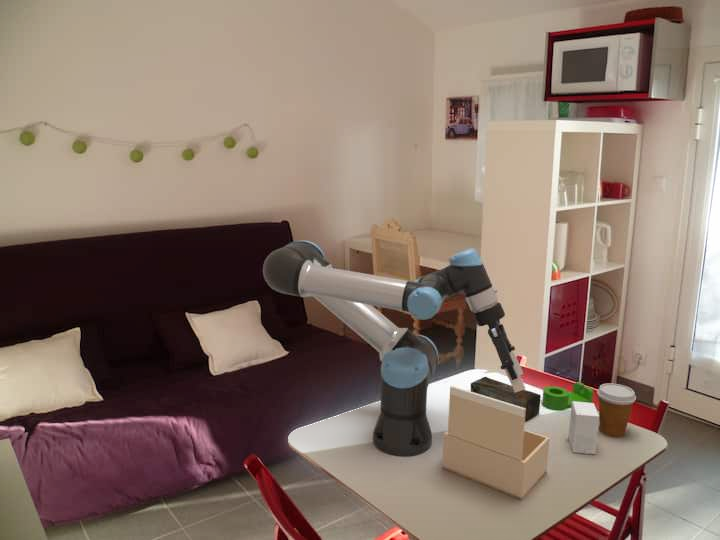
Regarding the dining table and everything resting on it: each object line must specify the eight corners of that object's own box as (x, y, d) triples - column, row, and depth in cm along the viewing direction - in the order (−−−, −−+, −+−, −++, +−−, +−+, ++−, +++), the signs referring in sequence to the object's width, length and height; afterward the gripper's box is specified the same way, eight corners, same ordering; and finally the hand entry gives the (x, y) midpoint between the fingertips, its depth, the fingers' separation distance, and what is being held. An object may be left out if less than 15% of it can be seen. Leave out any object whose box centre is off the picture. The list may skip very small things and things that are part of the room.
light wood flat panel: (447, 434, 141) (450, 386, 138) (449, 433, 141) (451, 385, 139) (520, 460, 130) (524, 409, 127) (521, 459, 131) (526, 408, 128)
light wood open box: (442, 467, 144) (444, 433, 142) (470, 444, 154) (472, 412, 152) (521, 500, 132) (524, 463, 130) (546, 472, 142) (549, 437, 140)
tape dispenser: (553, 413, 173) (555, 398, 172) (536, 403, 179) (538, 388, 178) (593, 404, 179) (594, 389, 178) (575, 394, 185) (576, 380, 184)
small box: (595, 455, 150) (600, 416, 148) (572, 452, 151) (576, 414, 149) (590, 439, 158) (594, 402, 155) (568, 437, 159) (571, 400, 156)
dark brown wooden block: (483, 393, 185) (484, 373, 183) (540, 414, 172) (542, 393, 170) (468, 401, 179) (469, 380, 178) (526, 423, 166) (528, 401, 165)
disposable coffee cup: (632, 443, 156) (638, 400, 154) (593, 436, 159) (598, 394, 157) (630, 426, 165) (635, 385, 162) (593, 420, 168) (597, 380, 165)
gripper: (499, 309, 142) (536, 391, 142) (499, 294, 166) (530, 365, 166) (469, 321, 143) (505, 402, 143) (474, 305, 168) (505, 374, 168)
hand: (519, 382), depth 155 cm, fingers open, 13 cm apart
